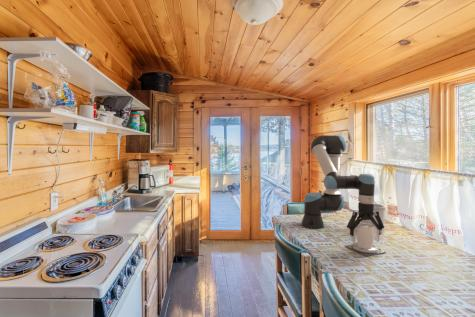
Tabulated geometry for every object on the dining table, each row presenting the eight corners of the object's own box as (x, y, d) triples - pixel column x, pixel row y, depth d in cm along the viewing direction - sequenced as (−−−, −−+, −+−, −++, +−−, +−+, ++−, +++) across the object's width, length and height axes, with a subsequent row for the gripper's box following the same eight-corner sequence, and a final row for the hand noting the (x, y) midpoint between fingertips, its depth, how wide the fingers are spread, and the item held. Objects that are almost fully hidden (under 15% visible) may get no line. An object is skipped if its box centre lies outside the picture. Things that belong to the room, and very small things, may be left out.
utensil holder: (380, 235, 157) (380, 208, 156) (356, 229, 168) (356, 204, 167) (388, 230, 167) (388, 205, 166) (365, 225, 178) (365, 201, 177)
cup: (373, 245, 137) (374, 223, 136) (374, 251, 129) (375, 228, 128) (355, 242, 141) (356, 221, 140) (355, 248, 133) (355, 226, 132)
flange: (345, 246, 139) (345, 243, 139) (363, 243, 144) (363, 240, 144) (365, 256, 126) (366, 253, 126) (385, 252, 130) (385, 250, 130)
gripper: (347, 204, 129) (347, 244, 129) (392, 203, 131) (391, 243, 132) (340, 201, 136) (339, 239, 137) (382, 200, 139) (381, 238, 139)
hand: (365, 241), depth 134 cm, fingers open, 13 cm apart
